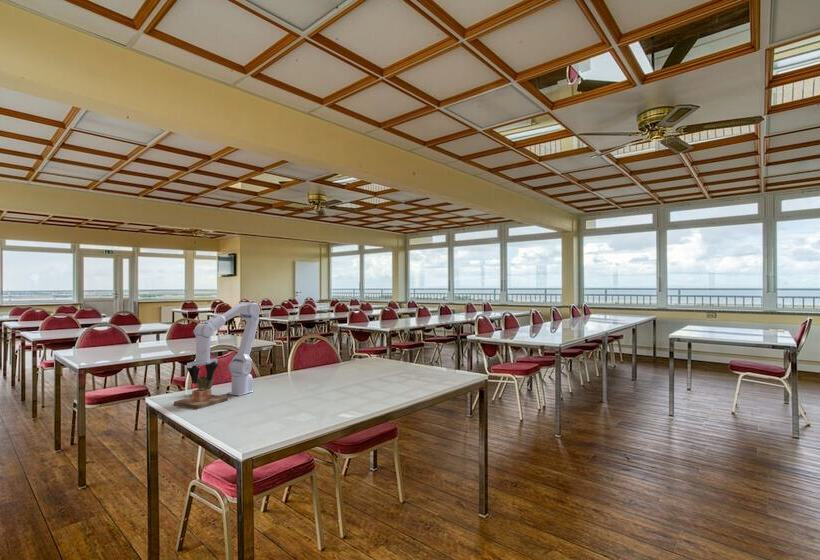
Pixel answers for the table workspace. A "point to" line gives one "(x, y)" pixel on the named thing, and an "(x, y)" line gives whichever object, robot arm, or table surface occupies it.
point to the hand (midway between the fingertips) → (202, 381)
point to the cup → (204, 382)
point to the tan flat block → (200, 404)
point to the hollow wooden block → (201, 394)
